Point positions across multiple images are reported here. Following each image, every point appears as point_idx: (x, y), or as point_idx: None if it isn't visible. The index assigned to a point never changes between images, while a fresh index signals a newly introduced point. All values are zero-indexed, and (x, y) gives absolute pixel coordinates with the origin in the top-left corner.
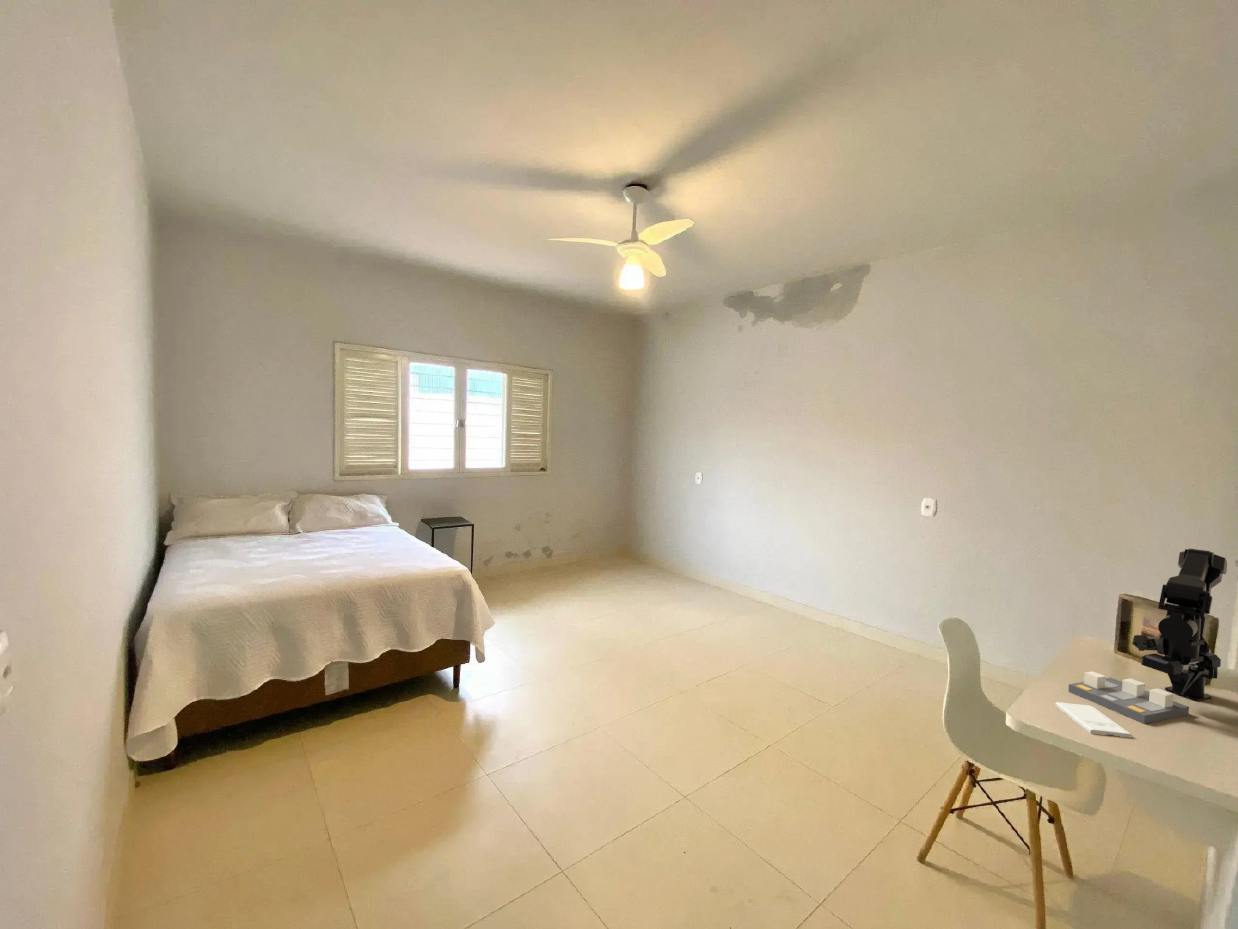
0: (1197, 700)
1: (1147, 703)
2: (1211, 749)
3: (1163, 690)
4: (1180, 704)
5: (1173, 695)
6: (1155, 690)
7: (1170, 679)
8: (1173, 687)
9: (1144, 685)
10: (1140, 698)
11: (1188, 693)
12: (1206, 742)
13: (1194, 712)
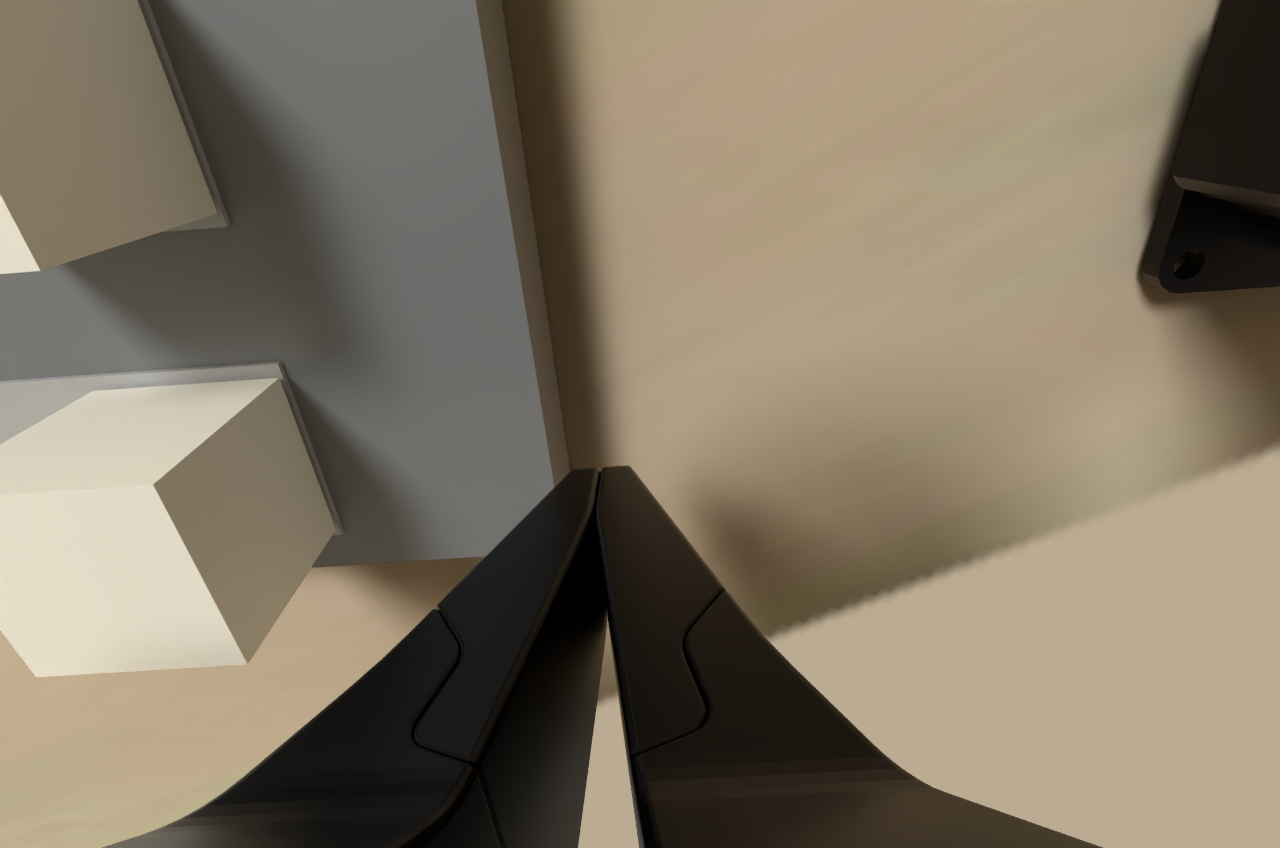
0: (1163, 287)
1: (31, 417)
2: (147, 812)
3: (184, 563)
4: (525, 497)
5: (254, 649)
6: (11, 537)
7: (428, 628)
8: (531, 521)
9: (54, 260)
10: (61, 272)
11: (1235, 201)
12: (204, 766)
13: (718, 463)
